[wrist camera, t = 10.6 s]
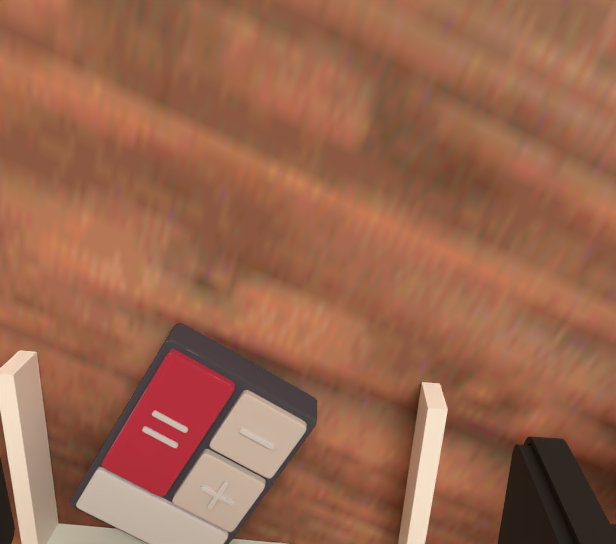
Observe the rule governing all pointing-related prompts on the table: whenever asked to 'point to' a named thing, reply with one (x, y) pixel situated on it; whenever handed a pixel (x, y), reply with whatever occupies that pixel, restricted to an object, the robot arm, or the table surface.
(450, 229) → the table surface
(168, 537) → the calculator
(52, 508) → the slot
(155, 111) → the table surface
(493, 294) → the table surface
